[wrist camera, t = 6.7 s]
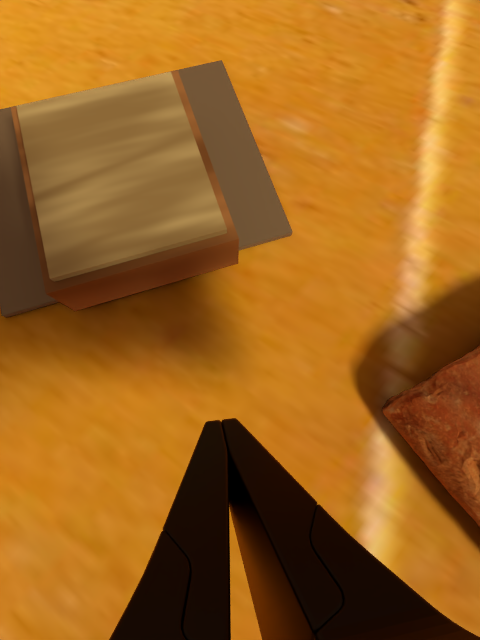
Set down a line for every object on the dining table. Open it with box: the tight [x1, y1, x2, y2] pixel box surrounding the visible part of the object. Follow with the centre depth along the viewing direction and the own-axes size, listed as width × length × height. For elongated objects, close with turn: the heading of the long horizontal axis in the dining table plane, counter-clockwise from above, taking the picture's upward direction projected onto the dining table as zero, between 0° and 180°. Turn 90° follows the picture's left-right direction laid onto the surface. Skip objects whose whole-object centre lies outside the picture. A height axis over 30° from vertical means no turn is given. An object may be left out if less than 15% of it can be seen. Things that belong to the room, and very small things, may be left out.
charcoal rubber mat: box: [0, 60, 292, 317], centre depth 21 cm, size 15×18×1 cm
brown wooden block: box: [11, 70, 239, 311], centre depth 19 cm, size 3×10×12 cm
